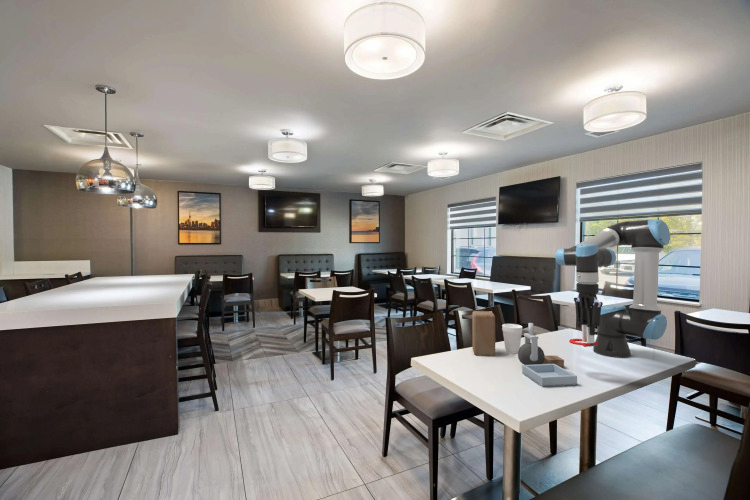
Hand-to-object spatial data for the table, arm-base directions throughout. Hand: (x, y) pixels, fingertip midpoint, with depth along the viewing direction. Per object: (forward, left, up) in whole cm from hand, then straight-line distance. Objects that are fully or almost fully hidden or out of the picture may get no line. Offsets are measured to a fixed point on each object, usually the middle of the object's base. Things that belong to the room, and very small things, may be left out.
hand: (588, 341), depth 137 cm
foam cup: (+12, -37, -15) cm, 42 cm away
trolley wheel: (+15, -15, -14) cm, 26 cm away
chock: (+6, -15, -15) cm, 21 cm away
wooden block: (+27, -37, -15) cm, 48 cm away
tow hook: (0, -4, -2) cm, 4 cm away
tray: (+16, -1, -14) cm, 22 cm away
